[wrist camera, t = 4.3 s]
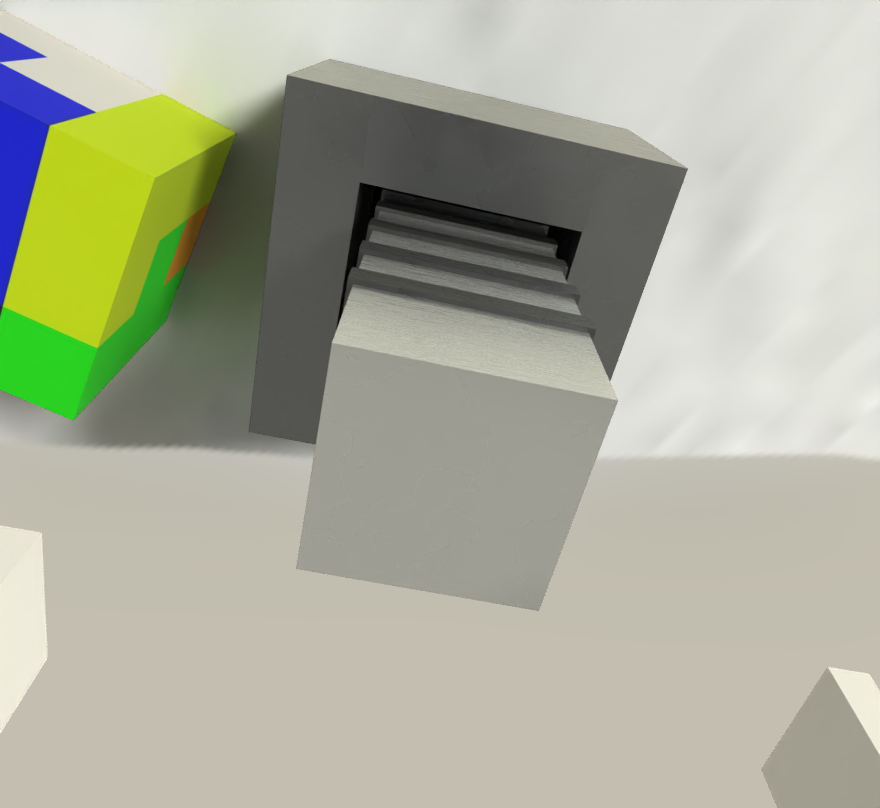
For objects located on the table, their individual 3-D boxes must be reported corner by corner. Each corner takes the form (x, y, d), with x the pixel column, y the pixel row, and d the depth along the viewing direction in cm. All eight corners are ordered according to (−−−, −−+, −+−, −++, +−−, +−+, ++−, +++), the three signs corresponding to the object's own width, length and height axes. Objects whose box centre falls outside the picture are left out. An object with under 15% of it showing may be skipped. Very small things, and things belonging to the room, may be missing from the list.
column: (370, 291, 35) (289, 572, 17) (394, 158, 32) (325, 334, 15) (497, 318, 36) (542, 616, 18) (532, 190, 33) (627, 395, 15)
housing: (293, 340, 36) (228, 472, 26) (329, 59, 30) (265, 82, 20) (544, 391, 37) (580, 537, 27) (628, 129, 31) (716, 187, 21)
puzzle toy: (5, 10, 30) (-182, 8, 21) (236, 132, 32) (154, 178, 23) (-41, 225, 34) (-214, 299, 25) (165, 320, 36) (73, 420, 27)
